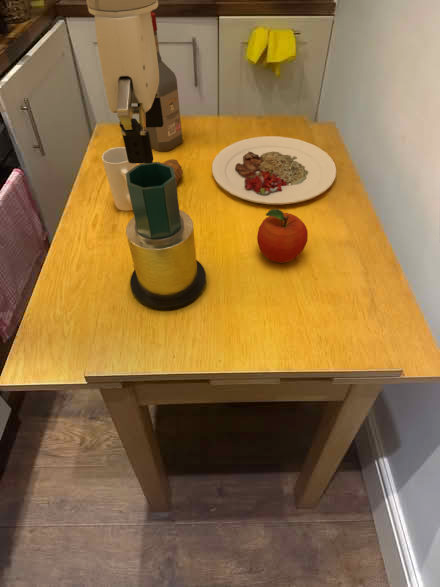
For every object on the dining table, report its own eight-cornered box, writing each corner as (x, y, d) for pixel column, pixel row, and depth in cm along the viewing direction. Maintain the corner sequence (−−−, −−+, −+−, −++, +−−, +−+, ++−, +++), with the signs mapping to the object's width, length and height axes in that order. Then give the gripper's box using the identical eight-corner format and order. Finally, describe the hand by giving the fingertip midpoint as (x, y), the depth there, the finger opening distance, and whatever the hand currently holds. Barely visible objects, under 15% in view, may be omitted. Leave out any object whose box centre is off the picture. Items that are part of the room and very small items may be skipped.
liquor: (187, 140, 112) (176, 12, 90) (164, 154, 108) (147, 22, 85) (163, 131, 116) (147, 6, 94) (140, 144, 111) (117, 15, 89)
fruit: (300, 275, 77) (307, 234, 69) (251, 265, 79) (253, 224, 71) (308, 242, 83) (315, 201, 75) (262, 234, 85) (265, 194, 78)
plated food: (321, 140, 111) (323, 128, 108) (347, 207, 91) (351, 194, 88) (211, 144, 110) (210, 132, 108) (213, 212, 90) (212, 199, 88)
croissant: (177, 198, 94) (175, 179, 91) (149, 196, 95) (145, 177, 91) (188, 166, 103) (187, 148, 100) (162, 165, 104) (160, 147, 100)
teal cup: (128, 228, 65) (116, 179, 59) (155, 206, 69) (147, 157, 63) (162, 243, 63) (154, 194, 56) (188, 219, 67) (183, 170, 60)
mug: (111, 198, 95) (98, 151, 86) (139, 191, 96) (129, 144, 87) (122, 223, 88) (109, 174, 80) (151, 215, 90) (142, 166, 81)
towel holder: (115, 290, 75) (97, 232, 65) (163, 247, 83) (153, 189, 73) (175, 323, 70) (166, 265, 60) (220, 273, 78) (218, 215, 67)
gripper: (104, -26, 49) (132, 115, 62) (61, 16, 38) (106, 178, 50) (166, -28, 49) (181, 114, 61) (142, 14, 37) (166, 178, 50)
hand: (147, 143), depth 56 cm, fingers open, 9 cm apart
